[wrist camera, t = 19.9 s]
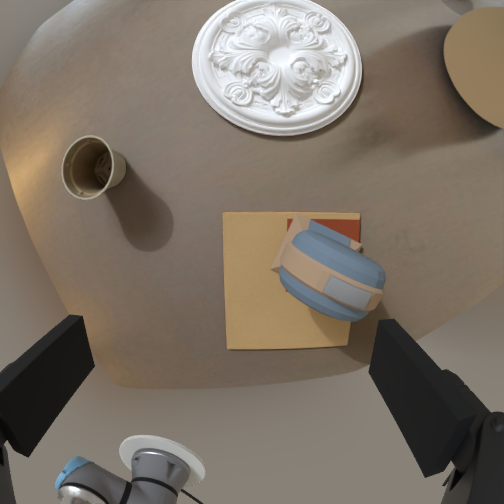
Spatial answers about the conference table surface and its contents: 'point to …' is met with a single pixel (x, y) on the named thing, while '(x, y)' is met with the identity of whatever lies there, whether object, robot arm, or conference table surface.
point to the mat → (273, 284)
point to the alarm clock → (328, 271)
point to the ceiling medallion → (277, 66)
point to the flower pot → (91, 167)
